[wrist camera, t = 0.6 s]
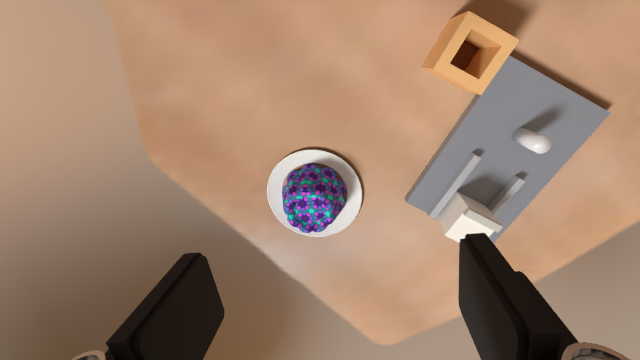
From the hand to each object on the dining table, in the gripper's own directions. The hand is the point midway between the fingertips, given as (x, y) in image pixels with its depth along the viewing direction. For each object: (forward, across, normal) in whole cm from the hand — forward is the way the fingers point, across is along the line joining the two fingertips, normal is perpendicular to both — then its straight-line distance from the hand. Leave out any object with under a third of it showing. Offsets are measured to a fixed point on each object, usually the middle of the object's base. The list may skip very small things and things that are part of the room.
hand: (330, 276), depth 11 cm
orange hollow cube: (+25, -12, -6) cm, 29 cm away
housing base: (+25, -16, +5) cm, 31 cm away
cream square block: (+24, -12, +11) cm, 29 cm away
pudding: (+26, +5, +8) cm, 28 cm away
